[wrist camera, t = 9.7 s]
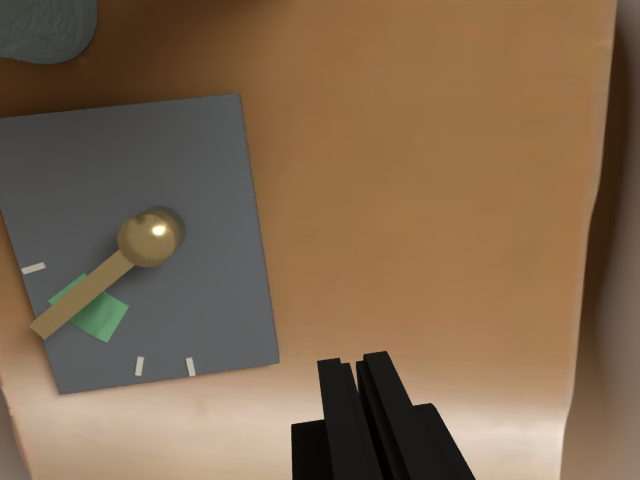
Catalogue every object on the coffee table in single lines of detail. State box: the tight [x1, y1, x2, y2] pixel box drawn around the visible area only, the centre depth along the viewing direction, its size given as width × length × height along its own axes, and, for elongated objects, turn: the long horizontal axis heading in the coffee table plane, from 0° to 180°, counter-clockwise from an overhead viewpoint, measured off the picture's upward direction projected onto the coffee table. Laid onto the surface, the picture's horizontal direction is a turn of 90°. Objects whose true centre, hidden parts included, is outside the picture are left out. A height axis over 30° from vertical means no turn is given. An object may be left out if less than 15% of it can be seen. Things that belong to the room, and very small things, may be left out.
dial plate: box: [0, 93, 279, 395], centre depth 35 cm, size 24×20×2 cm
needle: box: [28, 206, 185, 340], centre depth 32 cm, size 14×4×4 cm, turn 128°
